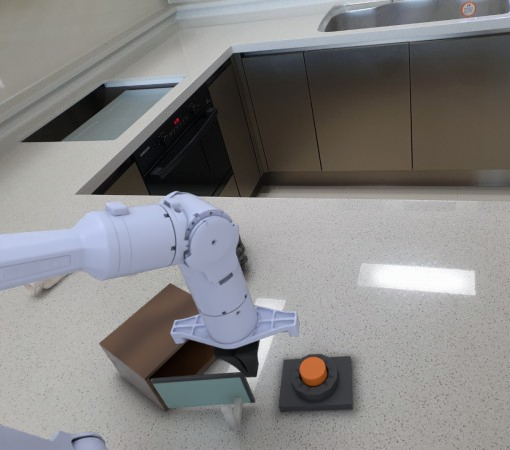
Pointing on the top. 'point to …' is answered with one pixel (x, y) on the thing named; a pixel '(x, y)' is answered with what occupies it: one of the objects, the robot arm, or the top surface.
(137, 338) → the cabinet
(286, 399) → the switch block
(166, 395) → the glass door
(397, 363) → the top surface
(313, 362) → the light button
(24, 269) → the robot arm
